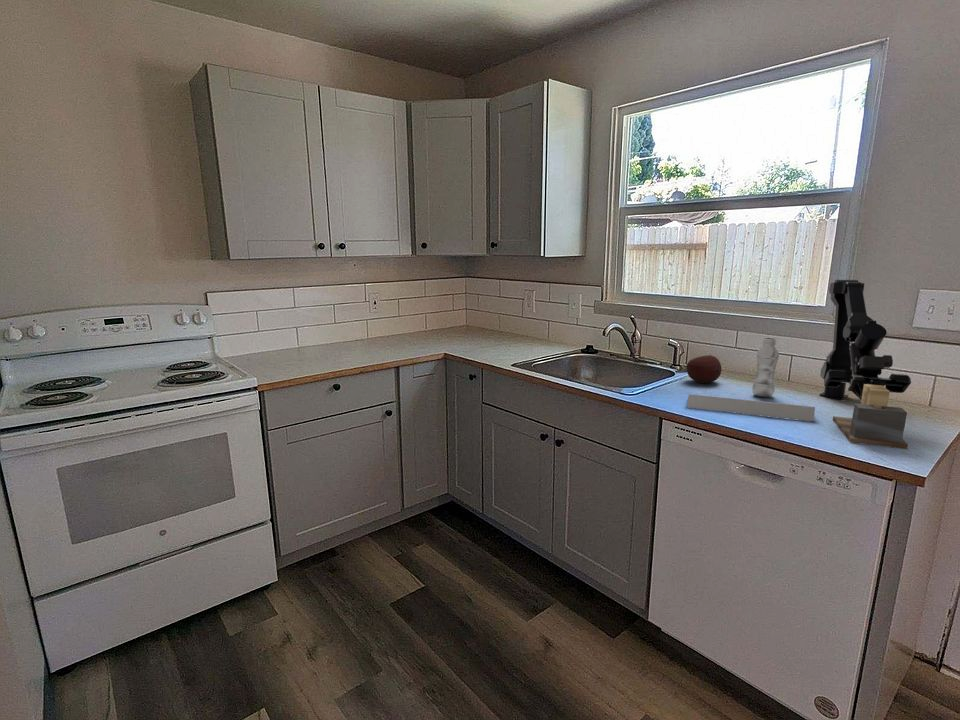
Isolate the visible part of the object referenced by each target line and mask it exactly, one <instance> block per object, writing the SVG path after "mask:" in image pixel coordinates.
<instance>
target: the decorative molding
mask: <svg viewBox="0 0 960 720" xmlns="http://www.w3.org/2000/svg"><path fill="white" fill-rule="evenodd" d="M687 396H688V397H687V405H686V406H687V408H689V409H695V408H696V409H697V410H704V409H706V410H705V411H713V410H717V411H716V412H722V411H727V412H726V413H730V412H736V413H735V414H739V413H744V414H743V415H748V414H753V415H752V416H757V415H762V416H761V417H766V416H770V417H769V418H774V417H778V418H777V419H783V418H789V419H788V420H792V419H798V420H797V421H801V420H805V421H804V422H810V421H813V422H812V423H814V420H815V410H816V408H815V406H811V405H810V406H809V405H798V404H789V403H779V402H770V401H762V400H761V401H760V400H752V399H751V400H750V399H740V398H732V397H731V398H730V397H721V396H712V395H702V394H691V393H688V395H687Z"/></svg>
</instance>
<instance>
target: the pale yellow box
mask: <svg viewBox="0 0 960 720" xmlns="http://www.w3.org/2000/svg"><path fill="white" fill-rule="evenodd" d="M890 393H891V392H890V391H889V390H887V389H886V388H885V385H884V386H882V385H870V384H864V387H863V393H862V399H861V400H860V404H865V405H873V406H874V407H876V408H882V406H888V403H889V398H890Z"/></svg>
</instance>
